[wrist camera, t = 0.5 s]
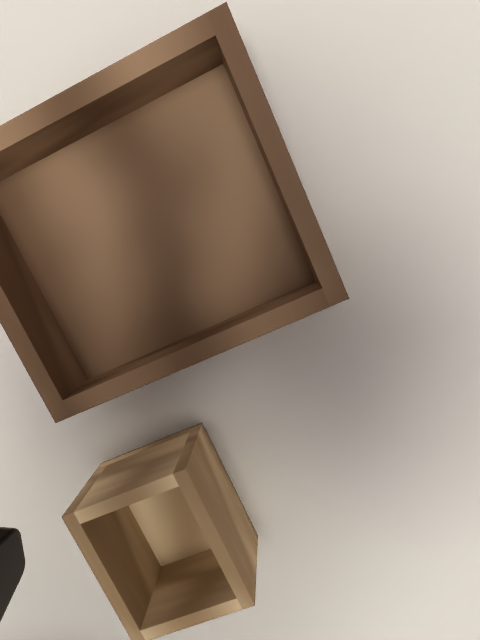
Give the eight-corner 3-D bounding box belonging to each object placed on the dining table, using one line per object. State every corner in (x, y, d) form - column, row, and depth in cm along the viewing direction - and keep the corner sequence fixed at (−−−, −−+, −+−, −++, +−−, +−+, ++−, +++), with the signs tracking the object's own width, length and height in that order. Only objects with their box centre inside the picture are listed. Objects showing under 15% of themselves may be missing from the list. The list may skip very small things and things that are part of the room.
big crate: (88, 394, 23) (55, 423, 19) (-26, 181, 21) (-83, 171, 17) (336, 287, 21) (349, 298, 17) (234, 43, 19) (226, 1, 16)
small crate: (158, 570, 24) (134, 644, 20) (101, 463, 23) (61, 517, 19) (257, 535, 24) (254, 605, 19) (202, 422, 22) (185, 468, 18)
